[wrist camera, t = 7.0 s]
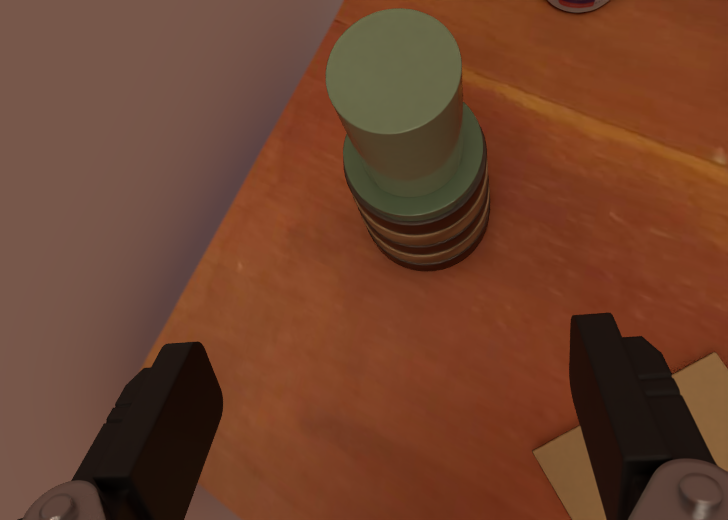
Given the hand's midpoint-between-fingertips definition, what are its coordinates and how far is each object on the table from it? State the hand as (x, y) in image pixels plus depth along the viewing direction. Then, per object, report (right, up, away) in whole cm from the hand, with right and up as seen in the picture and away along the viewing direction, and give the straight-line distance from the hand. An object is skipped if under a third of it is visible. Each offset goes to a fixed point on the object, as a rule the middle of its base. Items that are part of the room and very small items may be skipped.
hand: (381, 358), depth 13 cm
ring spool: (+2, +7, +17) cm, 19 cm away
